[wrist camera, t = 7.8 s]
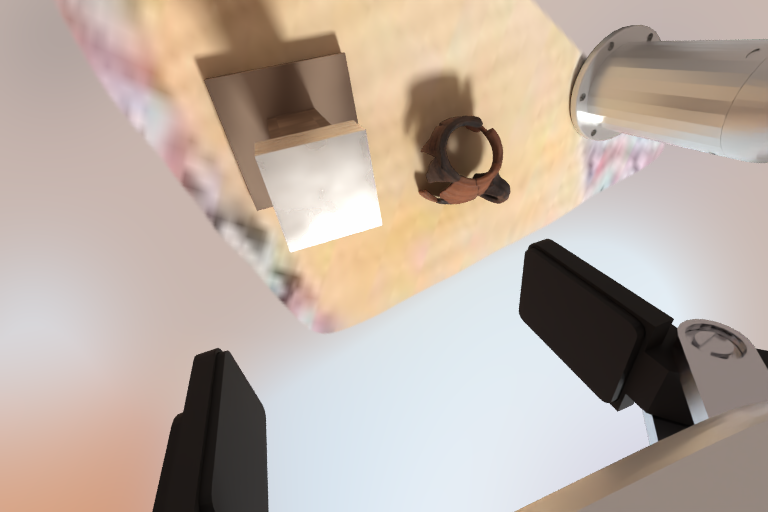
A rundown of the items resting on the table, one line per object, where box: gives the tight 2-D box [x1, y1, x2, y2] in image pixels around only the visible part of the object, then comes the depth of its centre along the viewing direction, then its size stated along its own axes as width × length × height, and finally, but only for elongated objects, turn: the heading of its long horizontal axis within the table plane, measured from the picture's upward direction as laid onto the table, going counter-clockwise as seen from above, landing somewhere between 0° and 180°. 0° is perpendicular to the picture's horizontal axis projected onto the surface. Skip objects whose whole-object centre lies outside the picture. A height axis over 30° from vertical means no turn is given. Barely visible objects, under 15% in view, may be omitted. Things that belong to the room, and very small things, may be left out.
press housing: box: [204, 53, 358, 211], centre depth 28 cm, size 12×12×12 cm
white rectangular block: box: [255, 120, 382, 252], centre depth 25 cm, size 6×6×15 cm
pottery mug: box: [419, 116, 510, 204], centre depth 38 cm, size 12×10×8 cm
